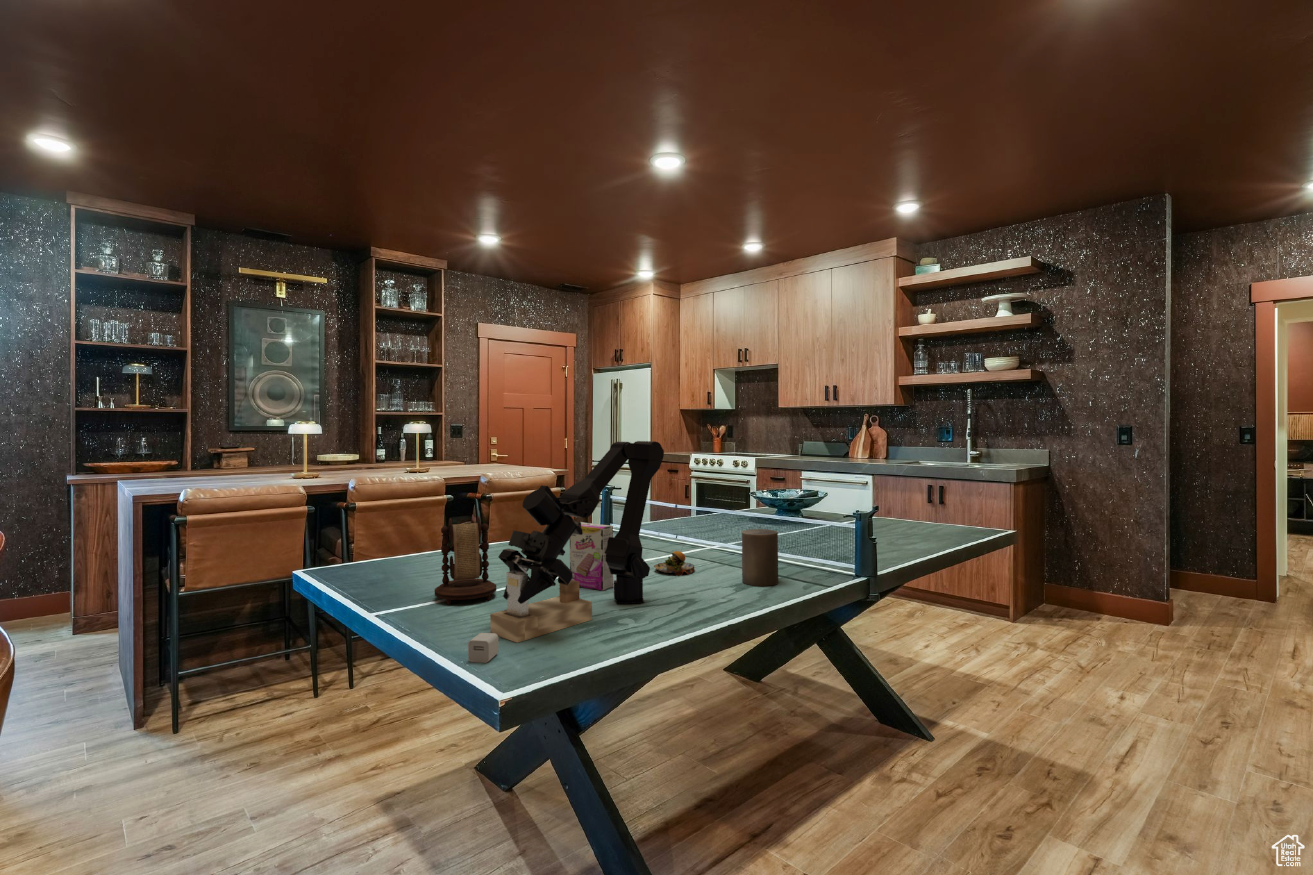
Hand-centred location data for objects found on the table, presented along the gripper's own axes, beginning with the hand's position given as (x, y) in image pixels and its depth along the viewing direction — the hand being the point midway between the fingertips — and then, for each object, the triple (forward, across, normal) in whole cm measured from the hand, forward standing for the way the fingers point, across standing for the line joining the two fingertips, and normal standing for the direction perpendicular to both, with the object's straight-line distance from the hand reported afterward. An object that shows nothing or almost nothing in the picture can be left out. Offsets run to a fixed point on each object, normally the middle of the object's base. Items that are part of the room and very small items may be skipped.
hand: (511, 600), depth 137 cm
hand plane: (0, 0, +11) cm, 11 cm away
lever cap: (+4, 0, +6) cm, 7 cm away
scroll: (-2, -33, +12) cm, 35 cm away
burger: (-41, -12, +52) cm, 67 cm away
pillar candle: (-44, +14, +55) cm, 72 cm away
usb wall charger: (+12, +6, -2) cm, 14 cm away
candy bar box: (-21, -17, +32) cm, 42 cm away
